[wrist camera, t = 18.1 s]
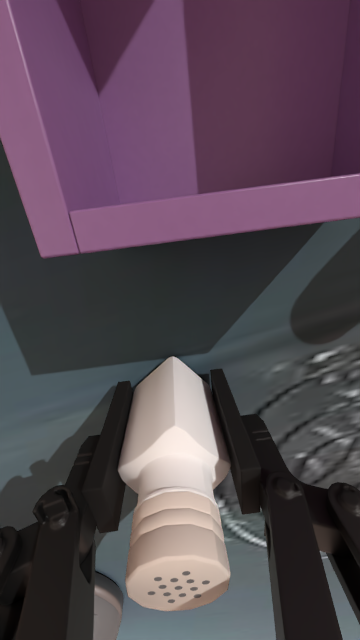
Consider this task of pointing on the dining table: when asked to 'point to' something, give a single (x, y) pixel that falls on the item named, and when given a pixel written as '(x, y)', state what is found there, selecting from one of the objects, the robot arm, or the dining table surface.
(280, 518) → the robot arm
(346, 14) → the file box
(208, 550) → the salt shaker
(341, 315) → the dining table surface
